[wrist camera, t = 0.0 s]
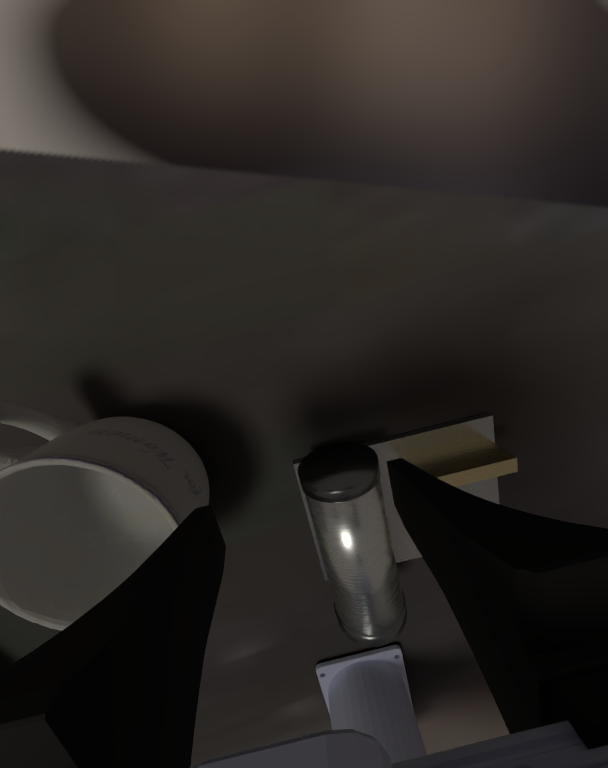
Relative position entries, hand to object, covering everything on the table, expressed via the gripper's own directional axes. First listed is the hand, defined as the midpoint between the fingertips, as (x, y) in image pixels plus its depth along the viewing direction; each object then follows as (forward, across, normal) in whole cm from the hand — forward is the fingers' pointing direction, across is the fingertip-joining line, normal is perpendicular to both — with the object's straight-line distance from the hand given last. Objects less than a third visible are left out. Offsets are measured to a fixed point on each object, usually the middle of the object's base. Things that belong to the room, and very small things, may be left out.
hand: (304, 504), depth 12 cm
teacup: (+10, +12, 0) cm, 16 cm away
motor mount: (+10, -7, +9) cm, 15 cm away
